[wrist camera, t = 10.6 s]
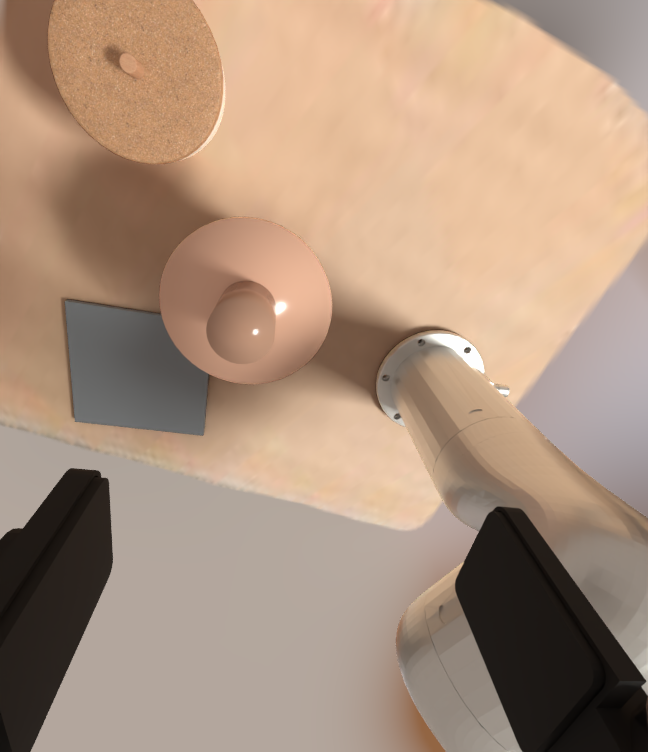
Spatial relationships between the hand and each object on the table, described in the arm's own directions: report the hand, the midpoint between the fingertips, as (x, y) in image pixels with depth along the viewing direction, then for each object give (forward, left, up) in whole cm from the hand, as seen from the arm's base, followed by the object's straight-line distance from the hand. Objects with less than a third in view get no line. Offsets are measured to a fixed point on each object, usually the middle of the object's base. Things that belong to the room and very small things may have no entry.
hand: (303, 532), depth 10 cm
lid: (+3, +1, -21) cm, 21 cm away
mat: (+14, +14, -33) cm, 39 cm away
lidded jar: (+12, -12, -33) cm, 37 cm away
